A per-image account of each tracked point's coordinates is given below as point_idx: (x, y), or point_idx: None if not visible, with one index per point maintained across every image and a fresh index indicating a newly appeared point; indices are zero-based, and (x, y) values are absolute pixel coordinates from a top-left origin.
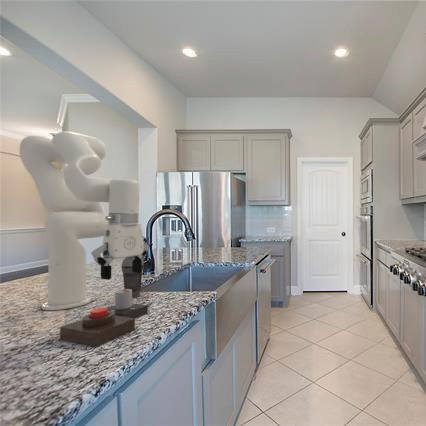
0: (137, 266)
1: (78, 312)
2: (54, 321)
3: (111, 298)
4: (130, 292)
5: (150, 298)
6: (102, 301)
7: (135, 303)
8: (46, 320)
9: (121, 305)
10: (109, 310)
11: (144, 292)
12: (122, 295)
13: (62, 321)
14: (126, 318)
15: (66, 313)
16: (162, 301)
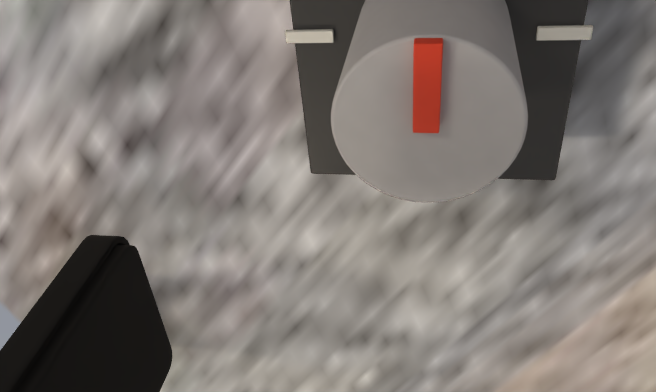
0: (90, 366)
1: (470, 339)
2: (644, 326)
3: (211, 375)
4: (400, 30)
5: (54, 180)
6: (271, 375)
7: (299, 31)
8: (633, 370)
9: (499, 4)
10: (544, 79)
11: (25, 311)
12: (501, 47)
13: (638, 291)
14: None
15: (503, 374)
16: (19, 24)
